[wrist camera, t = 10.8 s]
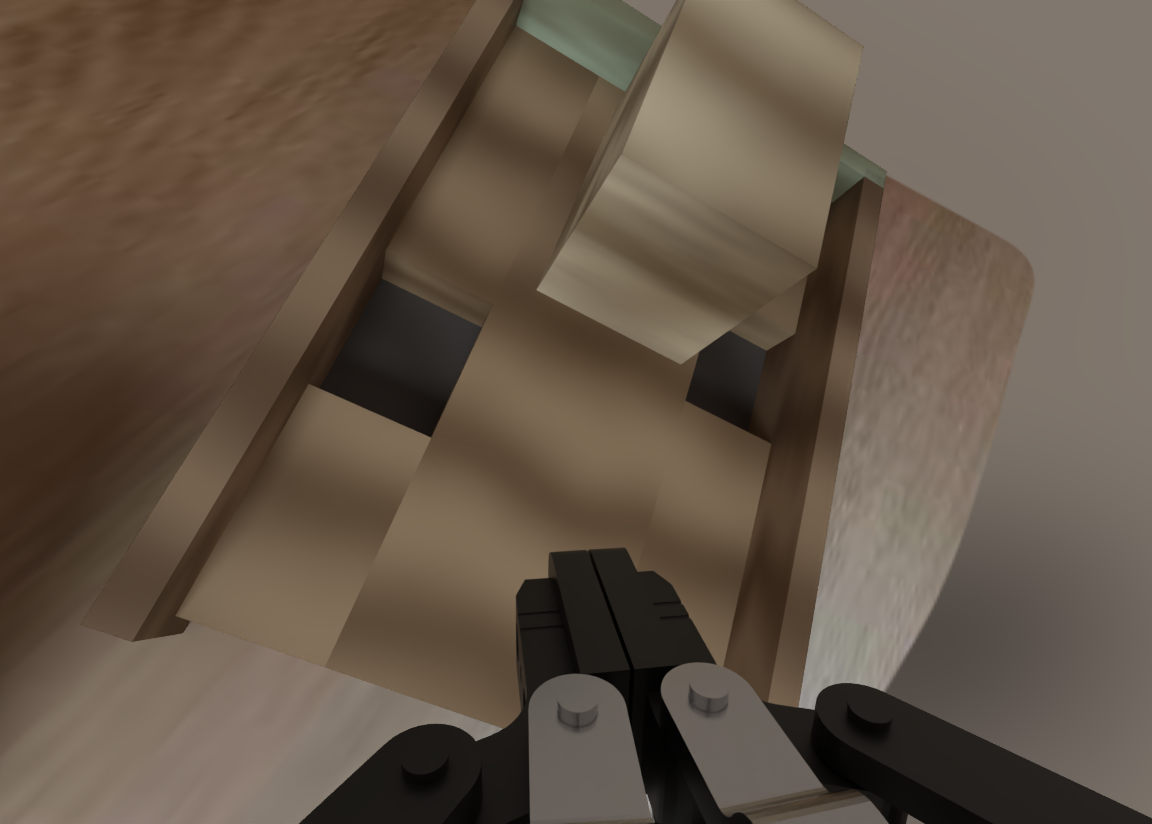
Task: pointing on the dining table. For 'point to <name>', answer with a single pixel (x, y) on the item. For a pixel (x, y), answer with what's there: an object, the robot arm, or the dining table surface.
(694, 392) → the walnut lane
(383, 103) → the dining table surface
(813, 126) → the beech block
